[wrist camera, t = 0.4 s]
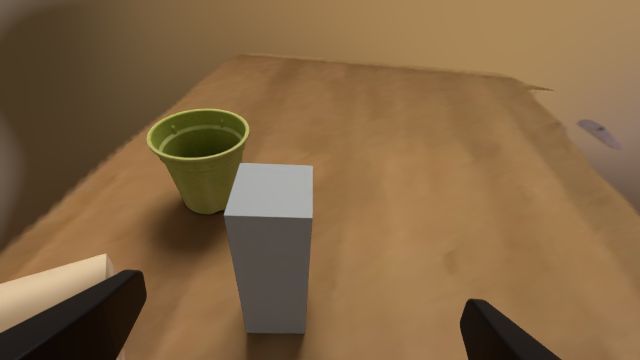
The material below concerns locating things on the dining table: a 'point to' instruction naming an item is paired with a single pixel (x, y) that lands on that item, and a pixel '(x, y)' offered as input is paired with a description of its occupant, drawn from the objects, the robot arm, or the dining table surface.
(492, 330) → the robot arm
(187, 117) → the plant pot
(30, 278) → the birch base
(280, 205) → the slate post
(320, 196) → the dining table surface
